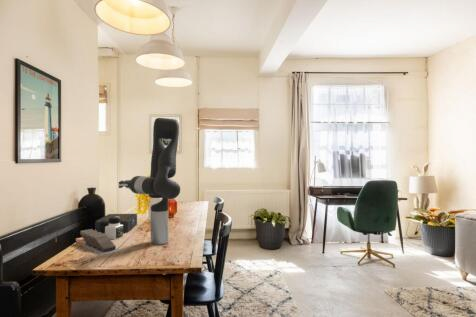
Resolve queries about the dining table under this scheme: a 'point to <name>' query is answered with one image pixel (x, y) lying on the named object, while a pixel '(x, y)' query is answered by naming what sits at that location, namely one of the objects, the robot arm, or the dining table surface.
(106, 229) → the medicine bottle
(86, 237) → the tile
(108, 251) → the felt strip
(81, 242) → the tile
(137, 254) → the dining table surface
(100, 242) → the tile
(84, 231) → the tile
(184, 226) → the dining table surface
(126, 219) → the cash box
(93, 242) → the tile
